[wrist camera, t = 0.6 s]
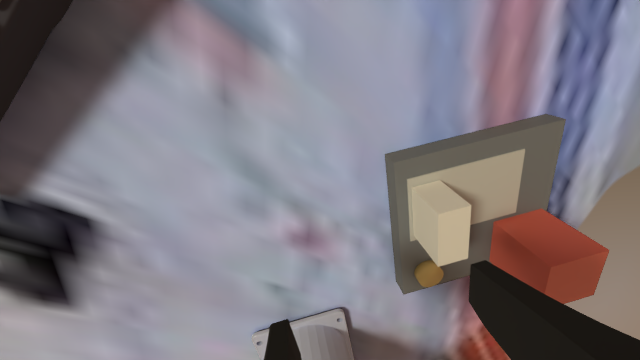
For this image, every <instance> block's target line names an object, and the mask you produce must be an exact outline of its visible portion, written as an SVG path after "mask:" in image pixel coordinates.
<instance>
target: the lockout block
mask: <svg viewBox="0 0 640 360" xmlns="http://www.w3.org/2000/svg"><path fill="white" fill-rule="evenodd" d="M608 253H609V250H608V249H607V248H605V247H603V246H602V245H600V244H598V243H597V242H595V241H594V240H592V239H590V238H589V237H587V236H586V235H584V234H582V233H581V232H579V231H577V230H576V229H574V228H572V227H571V226H569V225H568V224H566V223H564V222H563V221H561V220H559V219H558V218H556V217H555V216H553V215H551V214H550V213H548V212H546V211H545V210H543V209H538V210H534V211H531V212H527V213H524V214H520V215H516V216H513V217H509V218H505V219H502V220H498V221H495V222H494V223H493V232H492V241H491V250H490V260H489V261H490V262H491V263H492V264H493V265H495V266H497V267H498V268H500V269H502V270H503V271H505V272H507V273H509V274H510V275H512V276H514V277H515V278H517V279H519V280H521V281H522V282H524V283H526V284H528V285H529V286H531V287H533V288H535V289H536V290H538V291H540V292H542V293H544V294H545V295H547V296H549V297H551V298H553V299H555V300H557V301H558V302H560V303H562V304H565V303H568V302H572V301H575V300H578V299H581V298H584V297H588V296H591V295H594V292H595V289H596V287H597V284H598V281H599V278H600V275H601V272H602V270H603V267H604V264H605V261H606V258H607V256H608Z"/></svg>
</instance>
